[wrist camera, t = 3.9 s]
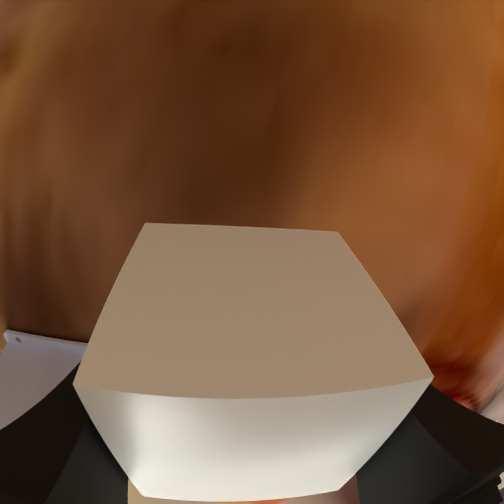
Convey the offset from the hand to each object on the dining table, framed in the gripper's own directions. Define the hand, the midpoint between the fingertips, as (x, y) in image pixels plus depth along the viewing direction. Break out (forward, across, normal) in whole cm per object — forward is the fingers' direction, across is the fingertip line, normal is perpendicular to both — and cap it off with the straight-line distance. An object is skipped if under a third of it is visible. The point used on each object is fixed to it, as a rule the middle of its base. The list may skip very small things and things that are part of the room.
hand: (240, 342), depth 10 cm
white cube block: (+2, 0, 0) cm, 2 cm away
